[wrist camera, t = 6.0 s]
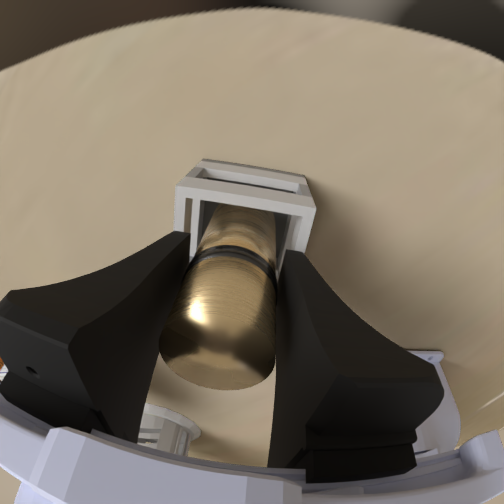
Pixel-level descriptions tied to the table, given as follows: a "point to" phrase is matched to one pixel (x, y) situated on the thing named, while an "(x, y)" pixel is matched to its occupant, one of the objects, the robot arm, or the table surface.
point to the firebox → (245, 201)
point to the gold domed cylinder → (226, 304)
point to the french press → (166, 430)
